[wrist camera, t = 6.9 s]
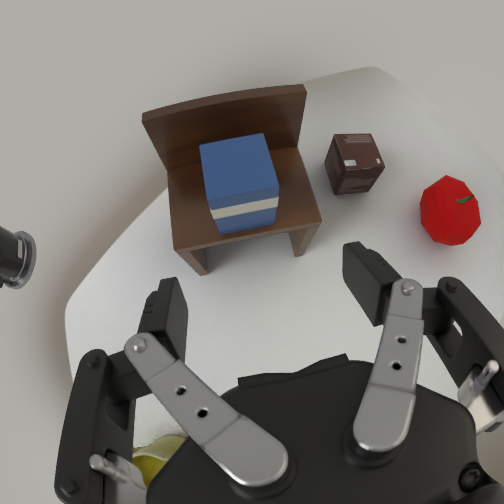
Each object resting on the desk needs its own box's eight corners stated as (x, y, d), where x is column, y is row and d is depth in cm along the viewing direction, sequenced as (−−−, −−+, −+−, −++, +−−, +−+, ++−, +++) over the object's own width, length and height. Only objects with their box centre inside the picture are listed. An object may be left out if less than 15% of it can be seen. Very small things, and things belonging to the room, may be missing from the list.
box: (357, 160, 41) (371, 132, 34) (369, 192, 39) (386, 167, 32) (323, 162, 41) (333, 133, 34) (333, 195, 39) (346, 169, 32)
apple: (445, 190, 40) (475, 161, 30) (466, 246, 37) (503, 225, 27) (402, 196, 39) (431, 163, 30) (424, 259, 36) (463, 238, 27)
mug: (230, 446, 28) (192, 493, 19) (211, 485, 29) (178, 526, 19) (151, 401, 32) (101, 430, 23) (143, 446, 33) (102, 474, 23)
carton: (275, 224, 25) (280, 187, 19) (220, 235, 25) (206, 201, 18) (262, 177, 27) (263, 132, 20) (211, 187, 27) (198, 144, 20)
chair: (303, 255, 37) (345, 176, 18) (199, 275, 36) (140, 215, 17) (285, 190, 40) (302, 83, 20) (190, 208, 39) (142, 112, 20)
